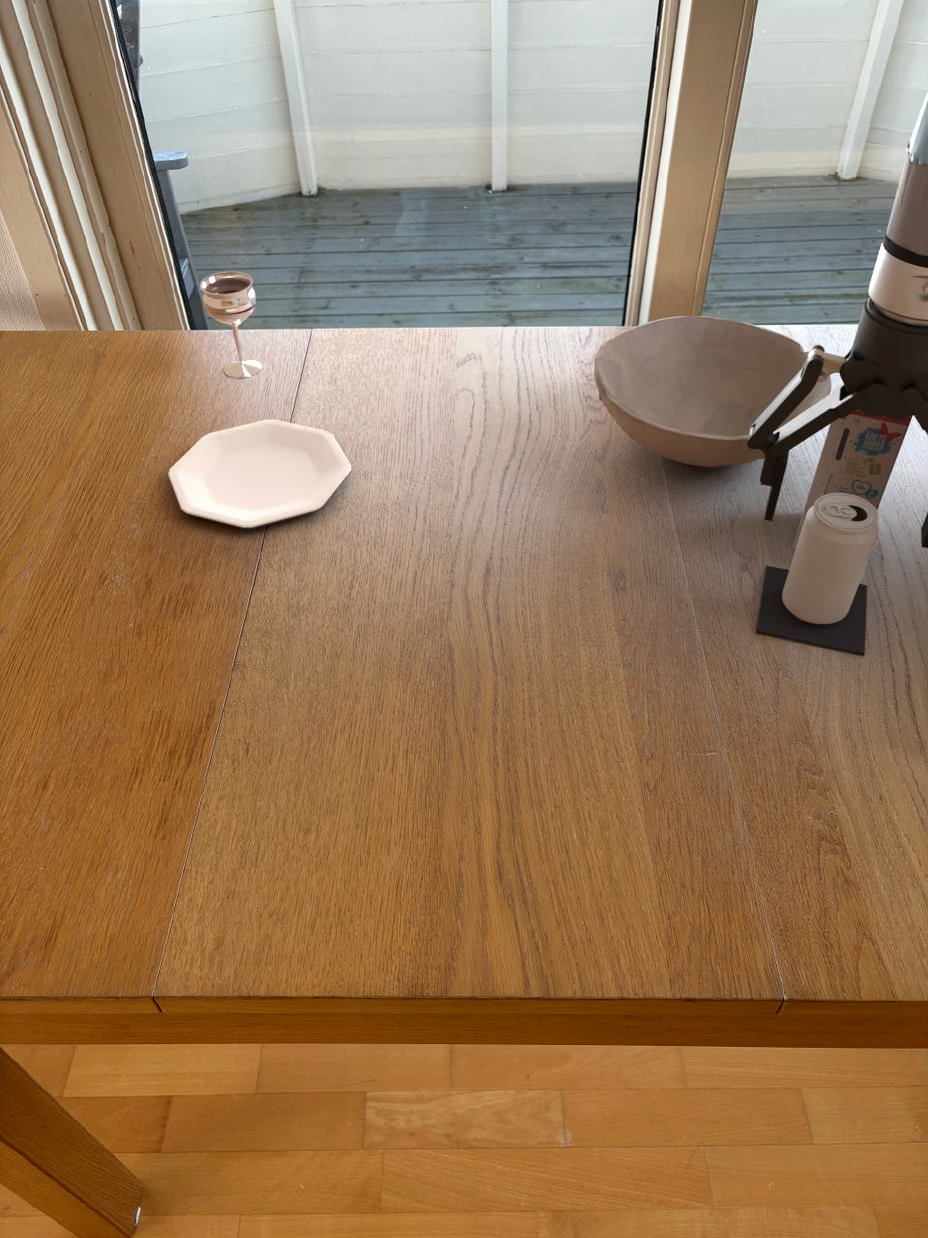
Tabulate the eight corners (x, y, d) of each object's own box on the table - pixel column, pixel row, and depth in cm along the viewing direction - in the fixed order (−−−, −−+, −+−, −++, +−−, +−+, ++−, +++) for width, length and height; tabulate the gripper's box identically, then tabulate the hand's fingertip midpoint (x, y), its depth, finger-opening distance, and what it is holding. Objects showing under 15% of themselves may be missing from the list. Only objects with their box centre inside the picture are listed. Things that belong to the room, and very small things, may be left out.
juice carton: (865, 527, 103) (934, 341, 88) (856, 564, 99) (927, 376, 83) (803, 512, 105) (859, 328, 90) (792, 548, 101) (849, 360, 85)
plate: (196, 552, 101) (193, 541, 100) (159, 455, 114) (156, 444, 113) (370, 505, 106) (369, 494, 105) (317, 417, 119) (315, 407, 118)
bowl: (853, 488, 108) (879, 412, 101) (634, 525, 104) (645, 448, 97) (750, 373, 126) (766, 302, 119) (560, 400, 122) (565, 327, 115)
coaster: (866, 587, 96) (867, 584, 96) (863, 656, 89) (865, 653, 89) (765, 567, 98) (766, 564, 98) (755, 633, 92) (756, 630, 91)
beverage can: (850, 633, 91) (889, 536, 83) (781, 625, 92) (813, 528, 83) (843, 588, 95) (879, 492, 87) (777, 581, 96) (807, 485, 88)
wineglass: (207, 367, 128) (188, 282, 120) (249, 350, 131) (234, 266, 123) (235, 387, 125) (217, 300, 116) (277, 368, 128) (264, 283, 119)
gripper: (744, 306, 72) (702, 525, 87) (1109, 350, 66) (997, 577, 81) (754, 265, 77) (713, 478, 92) (1094, 302, 71) (991, 524, 86)
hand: (845, 525), depth 86 cm, fingers open, 13 cm apart
